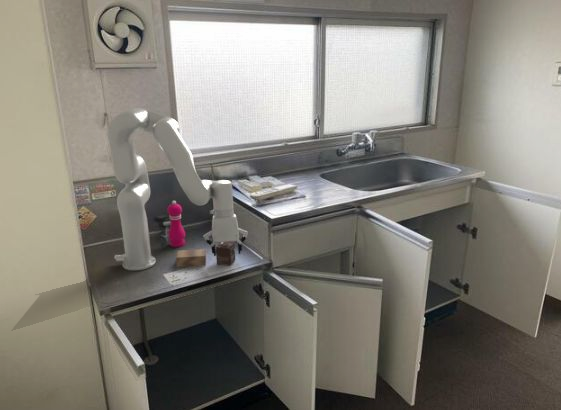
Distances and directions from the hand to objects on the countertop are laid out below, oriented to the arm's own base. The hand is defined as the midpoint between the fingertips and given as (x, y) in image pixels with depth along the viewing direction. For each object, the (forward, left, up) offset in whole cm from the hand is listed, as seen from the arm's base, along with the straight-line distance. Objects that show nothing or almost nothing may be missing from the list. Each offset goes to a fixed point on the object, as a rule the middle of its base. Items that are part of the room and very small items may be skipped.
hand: (227, 253), depth 175 cm
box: (-1, 0, -4) cm, 4 cm away
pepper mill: (-22, +22, -4) cm, 31 cm away
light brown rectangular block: (-14, +2, -4) cm, 15 cm away
